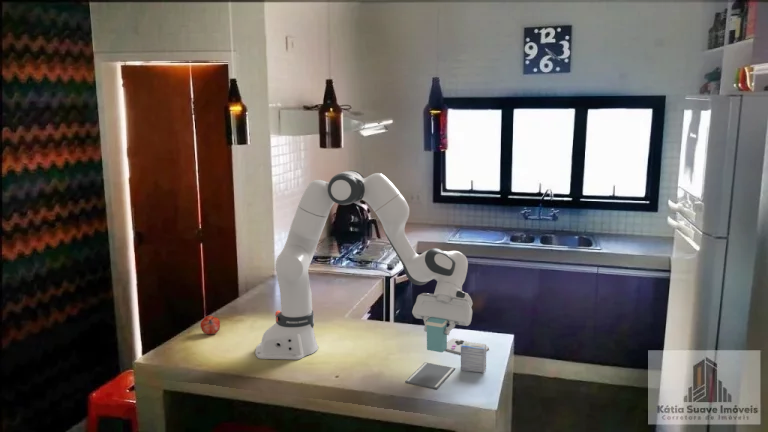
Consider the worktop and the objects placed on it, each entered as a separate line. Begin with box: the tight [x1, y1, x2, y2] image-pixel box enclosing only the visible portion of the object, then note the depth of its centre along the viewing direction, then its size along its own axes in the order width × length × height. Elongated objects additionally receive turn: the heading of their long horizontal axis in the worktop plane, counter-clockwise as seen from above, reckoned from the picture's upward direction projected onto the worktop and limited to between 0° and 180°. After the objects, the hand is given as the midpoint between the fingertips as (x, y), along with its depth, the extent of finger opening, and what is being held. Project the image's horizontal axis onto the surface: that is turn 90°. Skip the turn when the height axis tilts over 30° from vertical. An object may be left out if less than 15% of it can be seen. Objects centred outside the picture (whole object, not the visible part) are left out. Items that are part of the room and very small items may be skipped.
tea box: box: [426, 317, 448, 353], centre depth 201 cm, size 4×6×10 cm
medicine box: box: [460, 341, 487, 374], centre depth 203 cm, size 8×4×9 cm, turn 71°
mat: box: [404, 362, 456, 390], centre depth 199 cm, size 16×11×1 cm
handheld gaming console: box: [445, 338, 490, 355], centre depth 220 cm, size 10×2×15 cm
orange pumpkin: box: [200, 315, 221, 335], centre depth 239 cm, size 7×7×10 cm
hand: (436, 332), depth 201 cm, fingers closed on tea box, 5 cm apart
